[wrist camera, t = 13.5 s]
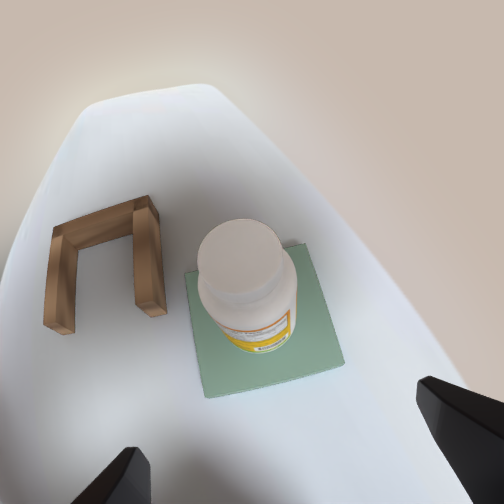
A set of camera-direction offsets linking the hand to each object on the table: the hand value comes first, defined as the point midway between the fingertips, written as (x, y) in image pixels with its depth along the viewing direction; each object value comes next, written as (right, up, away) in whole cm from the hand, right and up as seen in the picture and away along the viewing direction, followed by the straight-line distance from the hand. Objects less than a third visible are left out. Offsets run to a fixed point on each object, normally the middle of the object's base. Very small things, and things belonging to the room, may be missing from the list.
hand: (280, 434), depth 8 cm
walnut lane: (-14, +4, +20) cm, 25 cm away
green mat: (0, 0, +16) cm, 16 cm away
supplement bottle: (0, 0, +15) cm, 15 cm away
